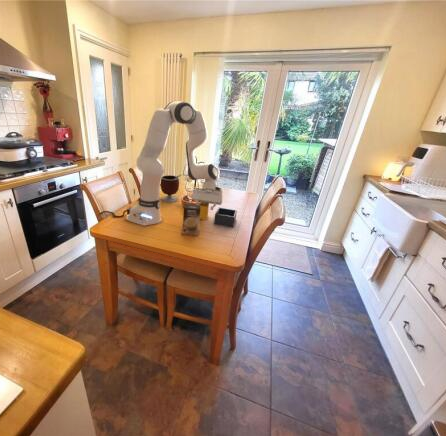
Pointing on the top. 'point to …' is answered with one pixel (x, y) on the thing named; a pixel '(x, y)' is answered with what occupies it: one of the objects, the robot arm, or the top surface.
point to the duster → (204, 210)
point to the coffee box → (191, 219)
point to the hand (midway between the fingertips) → (204, 208)
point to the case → (225, 217)
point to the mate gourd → (169, 187)
